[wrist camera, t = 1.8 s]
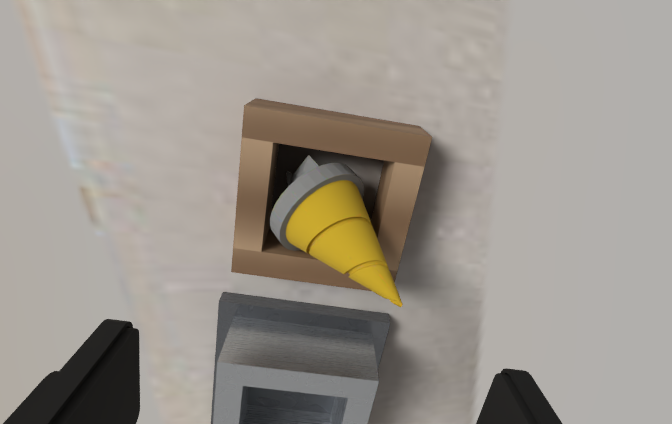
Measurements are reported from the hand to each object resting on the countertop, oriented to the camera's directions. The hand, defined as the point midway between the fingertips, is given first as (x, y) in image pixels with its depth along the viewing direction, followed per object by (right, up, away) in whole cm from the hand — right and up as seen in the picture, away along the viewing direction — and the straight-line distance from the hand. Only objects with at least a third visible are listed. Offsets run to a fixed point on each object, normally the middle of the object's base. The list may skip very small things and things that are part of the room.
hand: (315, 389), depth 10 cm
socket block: (0, +6, +13) cm, 14 cm away
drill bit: (+1, +5, +13) cm, 14 cm away
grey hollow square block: (-2, -6, +18) cm, 19 cm away
